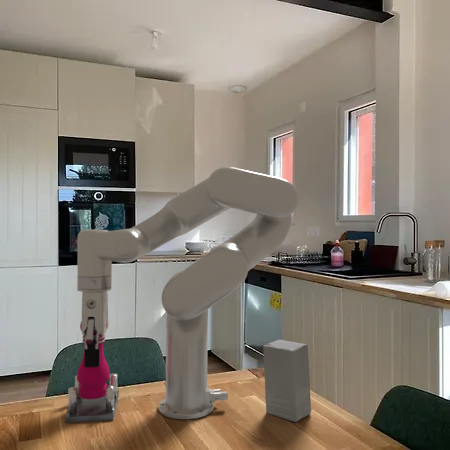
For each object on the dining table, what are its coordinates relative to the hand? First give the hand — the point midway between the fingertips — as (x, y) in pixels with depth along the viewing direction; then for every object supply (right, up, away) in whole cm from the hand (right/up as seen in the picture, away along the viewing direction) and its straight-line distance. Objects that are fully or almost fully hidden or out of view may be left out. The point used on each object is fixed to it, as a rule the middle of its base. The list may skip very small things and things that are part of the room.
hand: (93, 361), depth 103 cm
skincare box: (+44, -11, -2) cm, 45 cm away
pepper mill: (0, -8, 0) cm, 8 cm away
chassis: (0, -11, 0) cm, 11 cm away
